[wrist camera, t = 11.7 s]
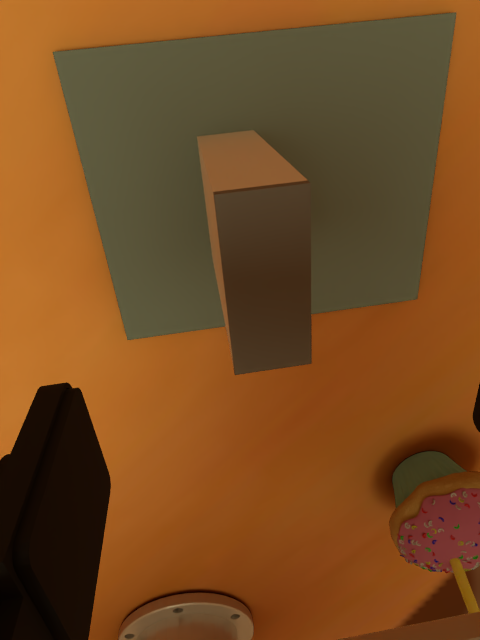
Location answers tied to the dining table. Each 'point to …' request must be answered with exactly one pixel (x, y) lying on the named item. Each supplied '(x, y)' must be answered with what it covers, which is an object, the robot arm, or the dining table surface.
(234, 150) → the slab
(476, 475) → the cupcake
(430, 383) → the dining table surface
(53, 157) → the dining table surface
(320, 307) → the mat
